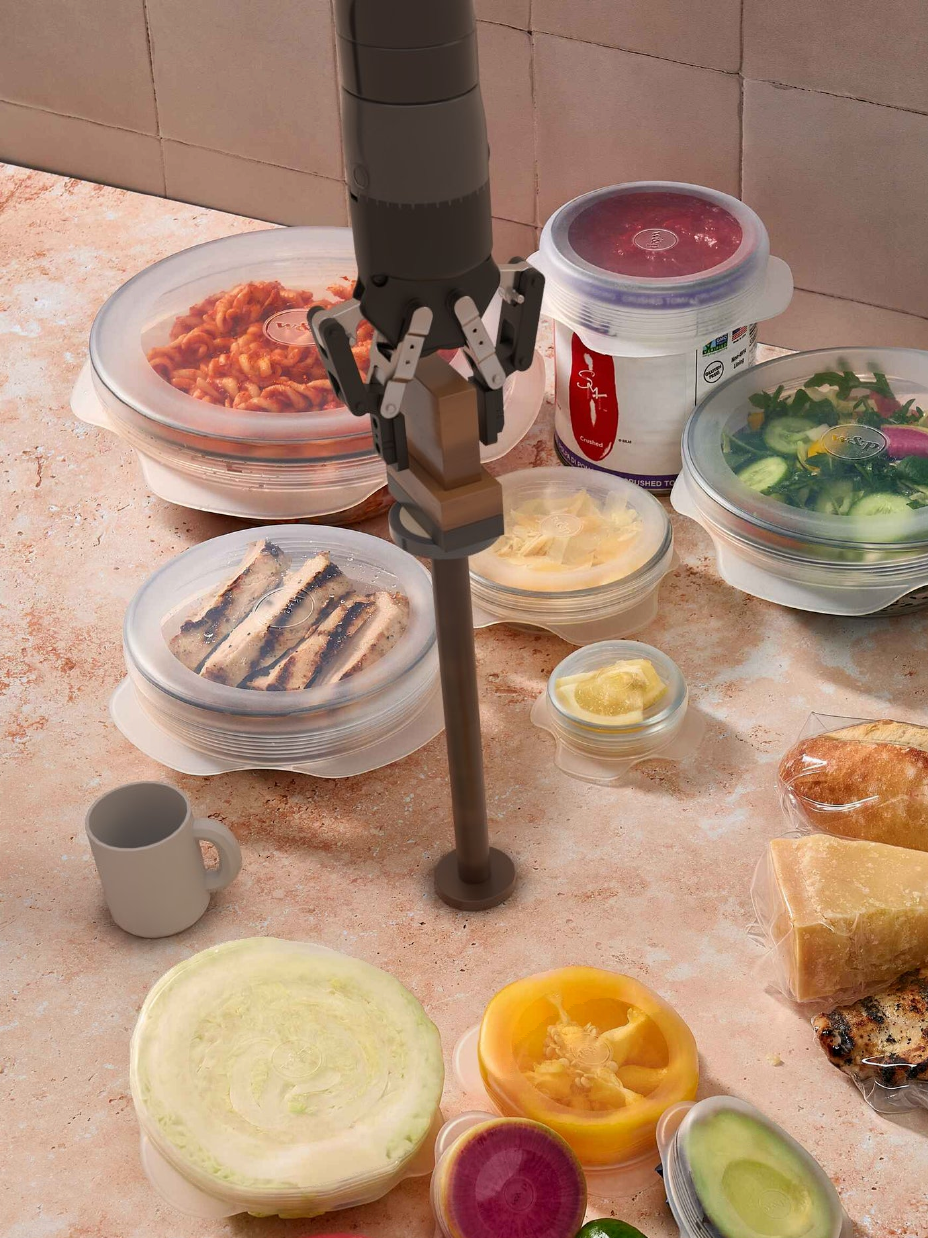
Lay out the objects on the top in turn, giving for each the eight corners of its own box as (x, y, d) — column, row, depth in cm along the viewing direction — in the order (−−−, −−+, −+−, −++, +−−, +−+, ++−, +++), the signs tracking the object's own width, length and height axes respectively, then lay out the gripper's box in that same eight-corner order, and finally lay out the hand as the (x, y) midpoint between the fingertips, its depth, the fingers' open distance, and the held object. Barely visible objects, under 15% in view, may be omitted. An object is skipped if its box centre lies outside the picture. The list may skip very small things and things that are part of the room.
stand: (457, 922, 121) (423, 565, 100) (421, 872, 125) (381, 518, 104) (530, 892, 123) (512, 537, 102) (492, 843, 127) (468, 491, 106)
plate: (419, 572, 99) (418, 556, 99) (371, 516, 104) (369, 501, 103) (523, 539, 102) (522, 523, 101) (471, 486, 106) (470, 471, 106)
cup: (116, 874, 124) (90, 784, 118) (252, 863, 125) (234, 773, 119) (105, 945, 119) (78, 855, 113) (248, 933, 120) (229, 843, 114)
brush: (504, 534, 100) (497, 392, 94) (445, 553, 99) (433, 410, 92) (446, 474, 105) (434, 334, 99) (388, 491, 104) (373, 350, 97)
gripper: (505, 120, 93) (517, 395, 104) (262, 170, 87) (303, 455, 99) (571, 166, 88) (576, 449, 100) (319, 222, 83) (355, 515, 94)
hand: (440, 450), depth 99 cm, fingers open, 5 cm apart
